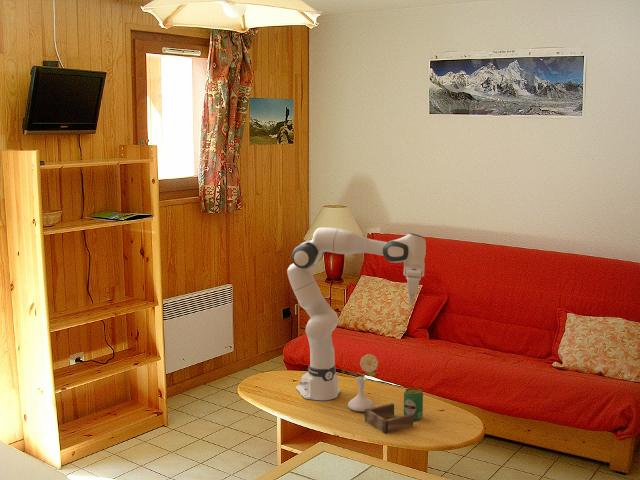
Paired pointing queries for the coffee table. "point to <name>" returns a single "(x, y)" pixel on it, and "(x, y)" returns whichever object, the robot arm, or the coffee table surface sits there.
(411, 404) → the beverage can
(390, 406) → the walnut bracket
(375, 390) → the coffee table surface
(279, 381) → the coffee table surface
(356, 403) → the flower in vase
